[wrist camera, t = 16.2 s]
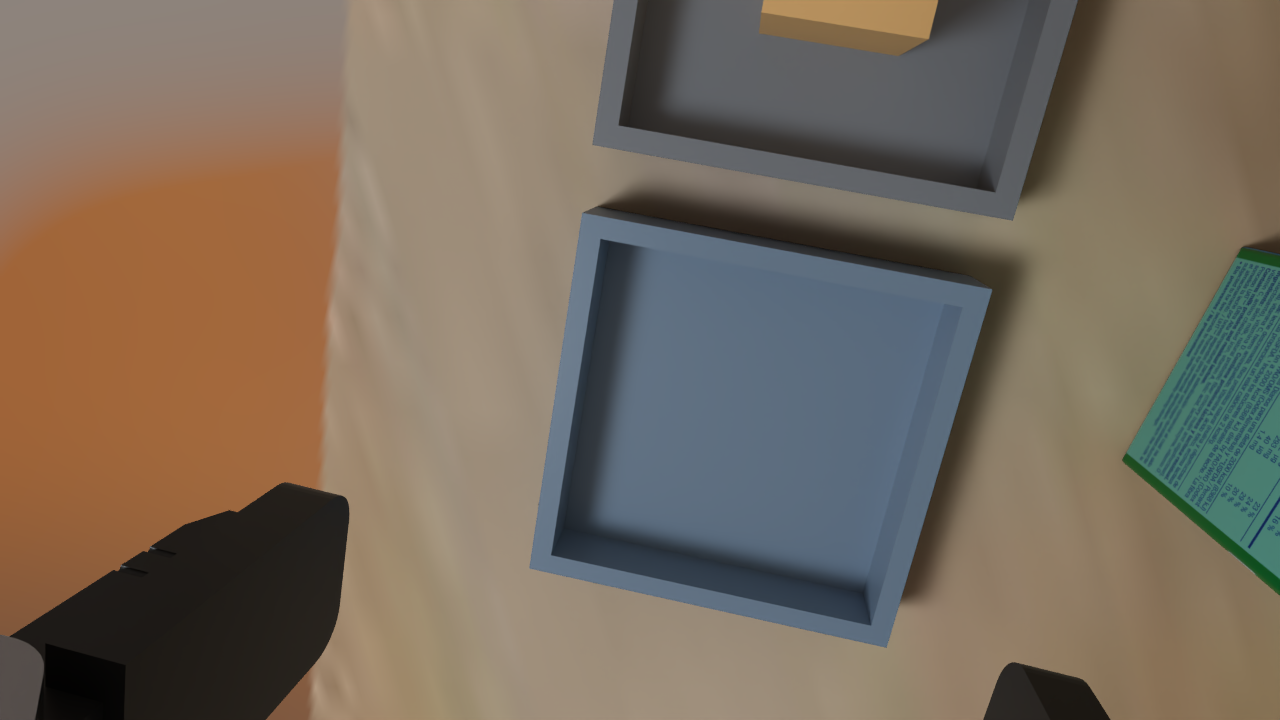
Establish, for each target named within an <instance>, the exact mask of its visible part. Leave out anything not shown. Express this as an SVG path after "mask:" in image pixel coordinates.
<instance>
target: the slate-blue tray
mask: <svg viewBox="0 0 1280 720" xmlns="http://www.w3.org/2000/svg"><path fill="white" fill-rule="evenodd" d="M991 293H992V289H991V288H989V287H987V286H986V285H984V284H983V283H981V282H979V281H978V280H976V279H974V278H973V277H971V276H968V275H963V274H957V273H952V272H947V271H941V270H936V269H930V268H925V267H920V266H914V265H909V264H904V263H898V262H893V261H887V260H882V259H877V258H871V257H866V256H861V255H855V254H850V253H844V252H839V251H834V250H828V249H823V248H818V247H812V246H807V245H801V244H796V243H791V242H785V241H780V240H775V239H769V238H764V237H758V236H753V235H748V234H742V233H737V232H732V231H726V230H721V229H715V228H710V227H705V226H699V225H694V224H689V223H683V222H678V221H672V220H667V219H662V218H656V217H651V216H646V215H640V214H635V213H629V212H624V211H619V210H613V209H608V208H603V207H595V208H592V209H590V210H588V211H585V212H583V213H582V218H581V225H580V232H579V238H578V245H577V252H576V259H575V265H574V272H573V279H572V286H571V292H570V299H569V306H568V312H567V319H566V326H565V333H564V339H563V346H562V353H561V359H560V366H559V373H558V380H557V386H556V393H555V400H554V406H553V413H552V420H551V427H550V433H549V440H548V447H547V453H546V460H545V467H544V474H543V480H542V487H541V494H540V501H539V507H538V514H537V521H536V527H535V534H534V541H533V548H532V554H531V561H530V569H535V570H539V571H544V572H548V573H553V574H557V575H562V576H566V577H571V578H575V579H580V580H584V581H589V582H593V583H598V584H602V585H607V586H611V587H616V588H620V589H625V590H629V591H634V592H638V593H643V594H647V595H652V596H656V597H661V598H665V599H670V600H674V601H679V602H683V603H688V604H692V605H697V606H701V607H706V608H710V609H715V610H719V611H724V612H728V613H733V614H737V615H742V616H746V617H751V618H755V619H760V620H764V621H769V622H773V623H778V624H782V625H787V626H791V627H796V628H800V629H805V630H809V631H814V632H818V633H823V634H827V635H832V636H836V637H841V638H845V639H850V640H854V641H859V642H863V643H868V644H872V645H877V646H881V647H886V648H887V644H888V641H889V638H890V634H891V631H892V627H893V624H894V621H895V617H896V614H897V610H898V607H899V604H900V600H901V597H902V594H903V590H904V587H905V583H906V580H907V577H908V573H909V570H910V567H911V563H912V560H913V556H914V553H915V550H916V546H917V543H918V539H919V536H920V533H921V529H922V526H923V523H924V519H925V516H926V512H927V509H928V506H929V502H930V499H931V496H932V492H933V489H934V485H935V482H936V479H937V475H938V472H939V469H940V465H941V462H942V458H943V455H944V452H945V448H946V445H947V441H948V438H949V435H950V431H951V428H952V425H953V421H954V418H955V414H956V411H957V408H958V404H959V401H960V398H961V394H962V391H963V387H964V384H965V381H966V377H967V374H968V370H969V367H970V364H971V360H972V357H973V354H974V350H975V347H976V343H977V340H978V337H979V333H980V330H981V327H982V323H983V320H984V316H985V313H986V310H987V306H988V303H989V300H990V296H991Z"/></svg>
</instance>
